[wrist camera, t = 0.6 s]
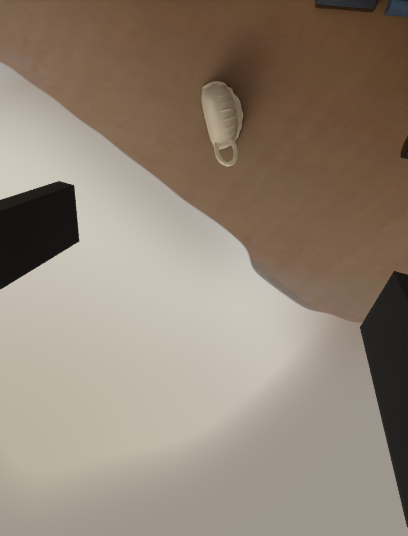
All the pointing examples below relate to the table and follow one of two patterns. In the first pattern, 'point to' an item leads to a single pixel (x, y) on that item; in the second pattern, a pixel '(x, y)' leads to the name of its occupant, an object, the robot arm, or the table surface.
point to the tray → (397, 8)
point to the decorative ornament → (222, 118)
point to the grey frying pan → (405, 149)
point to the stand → (348, 4)
